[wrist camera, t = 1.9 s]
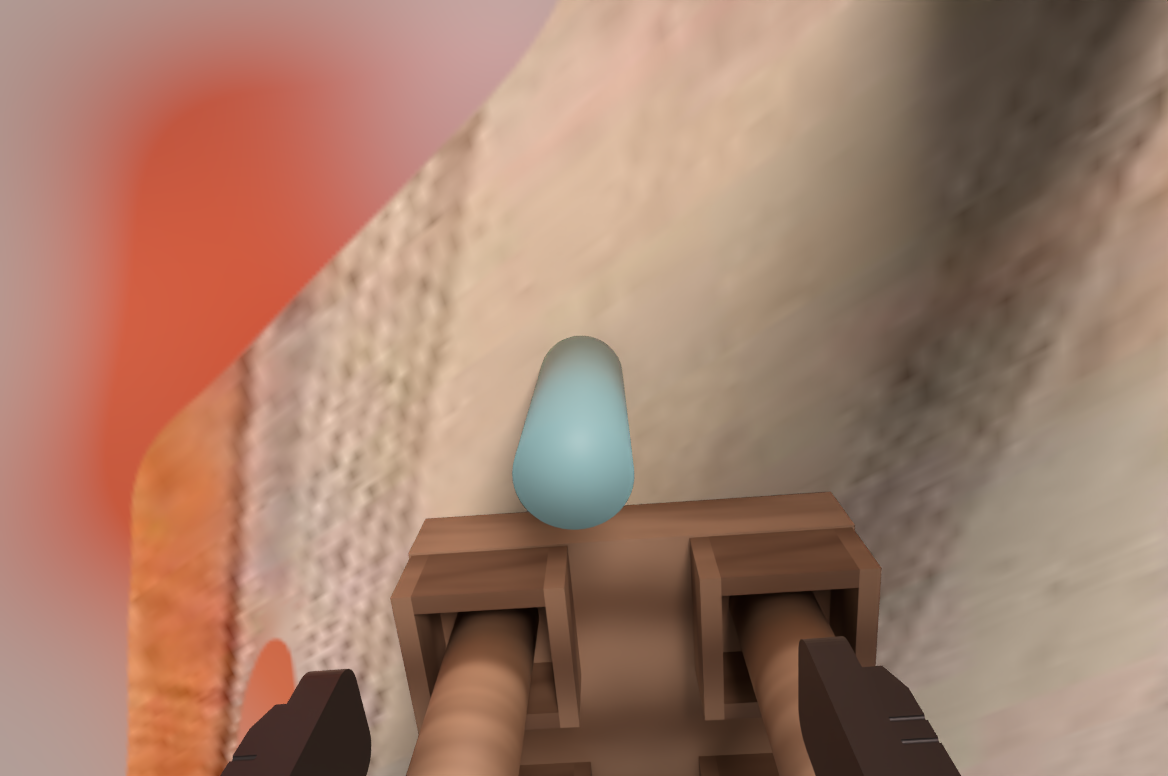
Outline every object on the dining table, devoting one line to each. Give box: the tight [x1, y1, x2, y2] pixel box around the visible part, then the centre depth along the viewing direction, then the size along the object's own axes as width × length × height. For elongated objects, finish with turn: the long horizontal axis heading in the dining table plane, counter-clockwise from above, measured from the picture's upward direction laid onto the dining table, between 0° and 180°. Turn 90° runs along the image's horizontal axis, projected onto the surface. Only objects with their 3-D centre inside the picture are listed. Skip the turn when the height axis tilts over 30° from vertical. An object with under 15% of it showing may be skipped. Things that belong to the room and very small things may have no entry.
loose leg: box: [512, 336, 634, 530], centre depth 24 cm, size 4×4×10 cm
